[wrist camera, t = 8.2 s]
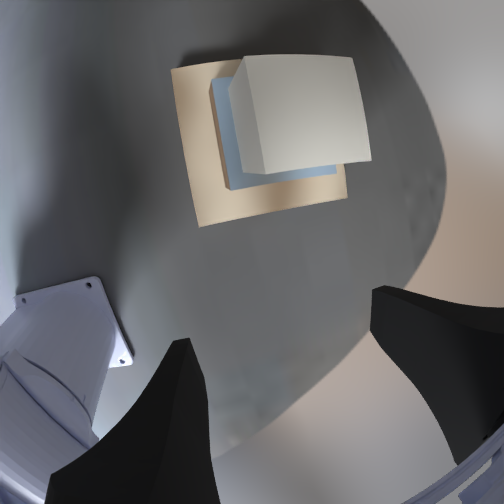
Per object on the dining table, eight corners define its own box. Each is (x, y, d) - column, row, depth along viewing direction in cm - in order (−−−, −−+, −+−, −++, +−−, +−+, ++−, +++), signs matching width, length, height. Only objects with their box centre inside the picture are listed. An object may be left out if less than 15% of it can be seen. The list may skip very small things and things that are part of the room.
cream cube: (243, 172, 14) (265, 174, 9) (227, 88, 12) (244, 56, 8) (323, 160, 14) (371, 160, 10) (309, 83, 13) (352, 57, 9)
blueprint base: (198, 221, 18) (200, 237, 14) (172, 79, 15) (167, 53, 11) (333, 194, 20) (368, 203, 15) (312, 66, 16) (342, 45, 12)
